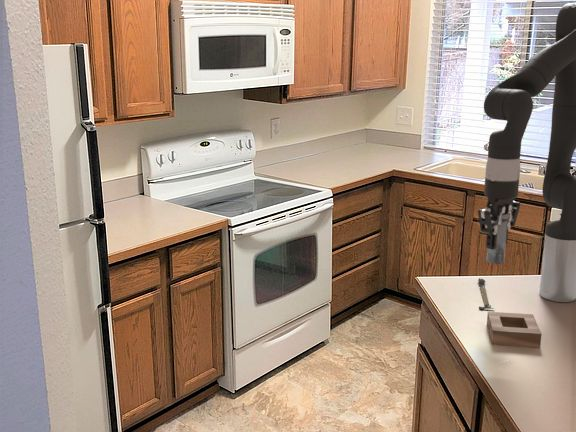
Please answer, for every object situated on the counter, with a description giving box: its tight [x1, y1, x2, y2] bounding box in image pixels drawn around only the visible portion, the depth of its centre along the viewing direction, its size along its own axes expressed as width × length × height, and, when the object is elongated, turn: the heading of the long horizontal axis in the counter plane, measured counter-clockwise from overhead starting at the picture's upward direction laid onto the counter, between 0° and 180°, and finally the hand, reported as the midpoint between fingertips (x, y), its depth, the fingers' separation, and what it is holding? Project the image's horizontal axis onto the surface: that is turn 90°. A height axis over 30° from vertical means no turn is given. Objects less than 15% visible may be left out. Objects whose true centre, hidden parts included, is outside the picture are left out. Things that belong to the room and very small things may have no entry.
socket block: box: [486, 311, 543, 349], centre depth 143 cm, size 10×10×4 cm
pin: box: [486, 213, 510, 265], centre depth 146 cm, size 5×5×12 cm
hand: (496, 246), depth 147 cm, fingers closed on pin, 4 cm apart
